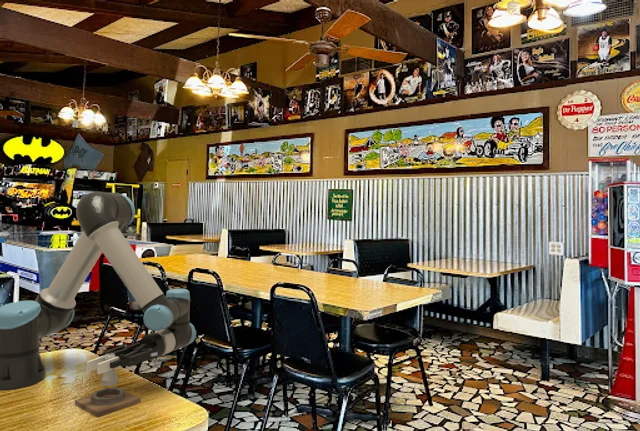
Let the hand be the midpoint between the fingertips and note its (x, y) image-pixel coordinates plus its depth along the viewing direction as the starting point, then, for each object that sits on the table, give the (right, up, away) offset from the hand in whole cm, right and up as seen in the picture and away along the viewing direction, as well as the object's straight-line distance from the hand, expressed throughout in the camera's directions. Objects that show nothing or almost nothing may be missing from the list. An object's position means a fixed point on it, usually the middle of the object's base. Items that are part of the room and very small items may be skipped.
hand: (93, 367), depth 119 cm
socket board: (+2, -12, +5) cm, 13 cm away
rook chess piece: (+2, -6, +5) cm, 8 cm away
